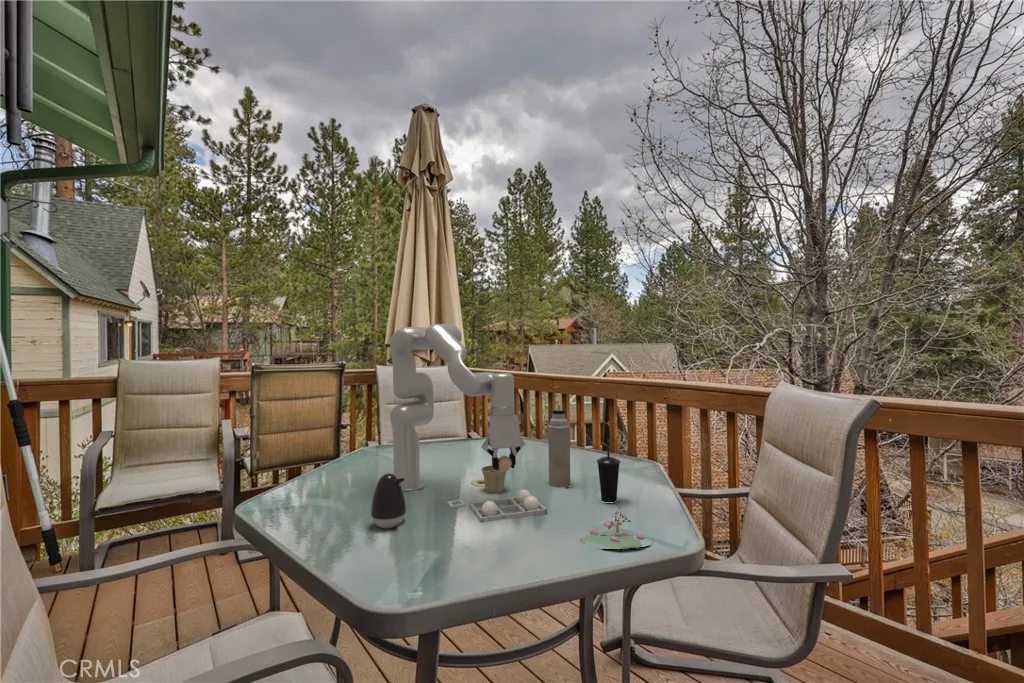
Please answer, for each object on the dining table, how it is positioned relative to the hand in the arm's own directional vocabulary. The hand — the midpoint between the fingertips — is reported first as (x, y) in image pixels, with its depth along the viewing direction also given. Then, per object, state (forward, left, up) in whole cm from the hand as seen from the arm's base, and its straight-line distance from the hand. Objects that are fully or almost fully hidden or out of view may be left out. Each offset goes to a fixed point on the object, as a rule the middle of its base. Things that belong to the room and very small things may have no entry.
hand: (504, 467), depth 152 cm
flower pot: (+2, +17, -13) cm, 22 cm away
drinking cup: (+35, -6, -13) cm, 38 cm away
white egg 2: (+7, 0, -13) cm, 14 cm away
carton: (0, -3, -13) cm, 14 cm away
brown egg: (0, -1, -1) cm, 1 cm away
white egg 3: (+7, -7, -13) cm, 16 cm away
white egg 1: (-7, -7, -13) cm, 16 cm away
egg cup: (-14, +7, -13) cm, 21 cm away
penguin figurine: (-36, -1, -13) cm, 39 cm away
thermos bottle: (+27, +16, -13) cm, 34 cm away
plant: (+23, -29, -14) cm, 40 cm away
